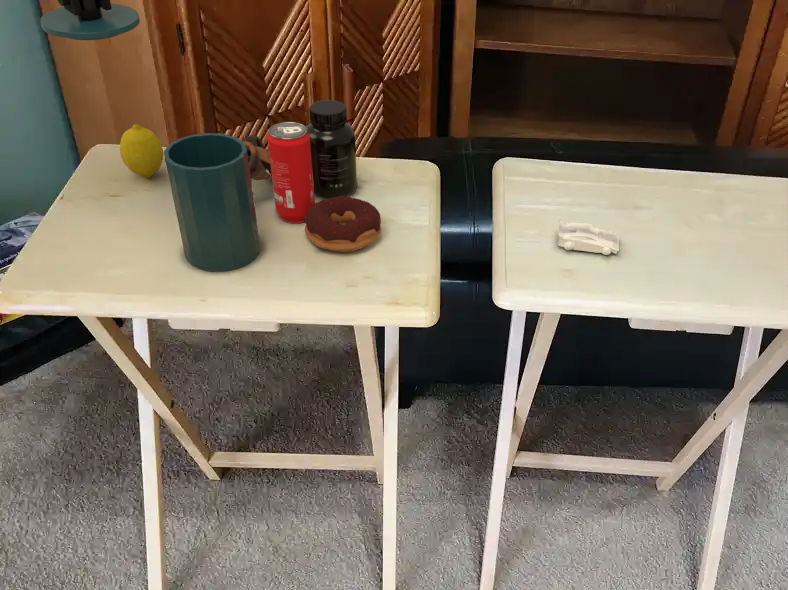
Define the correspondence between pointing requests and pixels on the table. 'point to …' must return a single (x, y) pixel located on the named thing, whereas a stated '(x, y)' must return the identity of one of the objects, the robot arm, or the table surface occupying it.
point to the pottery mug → (257, 158)
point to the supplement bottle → (332, 150)
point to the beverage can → (291, 170)
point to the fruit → (141, 151)
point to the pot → (213, 201)
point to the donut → (342, 237)
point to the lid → (90, 21)
